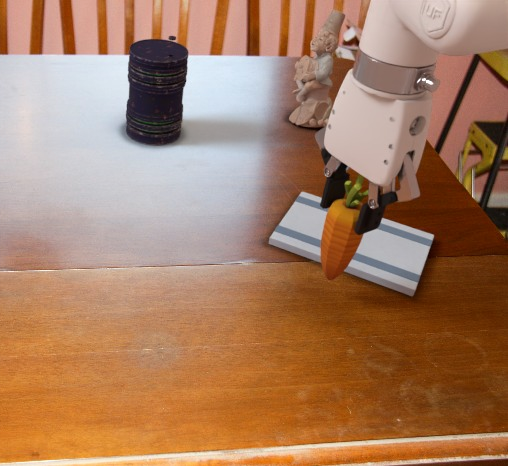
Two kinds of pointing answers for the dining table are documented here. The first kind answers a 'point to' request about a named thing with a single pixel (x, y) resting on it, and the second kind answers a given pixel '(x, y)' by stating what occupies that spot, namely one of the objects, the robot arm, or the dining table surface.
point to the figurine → (317, 76)
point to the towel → (369, 251)
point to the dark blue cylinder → (156, 90)
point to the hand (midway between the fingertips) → (348, 216)
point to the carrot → (342, 230)
